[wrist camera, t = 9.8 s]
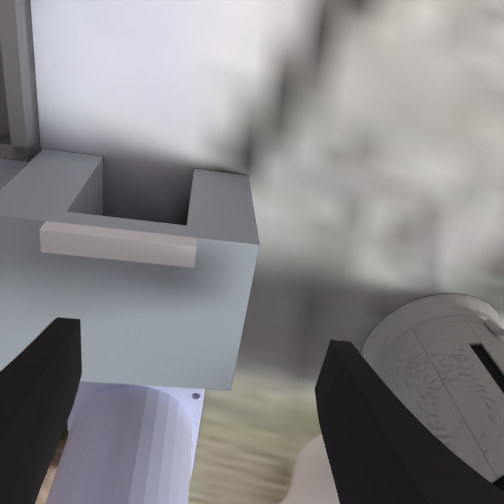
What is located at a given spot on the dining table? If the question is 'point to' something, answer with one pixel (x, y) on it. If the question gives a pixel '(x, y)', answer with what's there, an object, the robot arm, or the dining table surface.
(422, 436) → the robot arm
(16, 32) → the tray
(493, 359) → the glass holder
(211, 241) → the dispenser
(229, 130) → the dining table surface
